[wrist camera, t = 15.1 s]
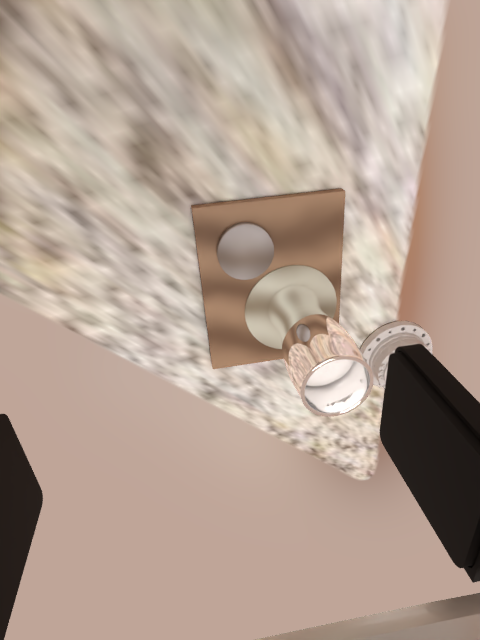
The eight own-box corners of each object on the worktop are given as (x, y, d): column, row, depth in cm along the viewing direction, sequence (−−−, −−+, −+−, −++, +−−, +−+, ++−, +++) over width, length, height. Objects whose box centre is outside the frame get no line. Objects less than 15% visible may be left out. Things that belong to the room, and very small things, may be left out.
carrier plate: (191, 205, 44) (192, 211, 42) (341, 188, 46) (349, 193, 43) (211, 363, 54) (213, 375, 52) (334, 345, 56) (340, 355, 53)
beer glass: (261, 286, 48) (296, 362, 35) (321, 276, 49) (378, 347, 36) (266, 338, 52) (300, 425, 39) (322, 328, 52) (374, 410, 39)
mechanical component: (352, 384, 60) (418, 377, 61) (365, 405, 56) (435, 397, 57) (362, 322, 55) (434, 316, 56) (377, 341, 51) (453, 334, 52)
